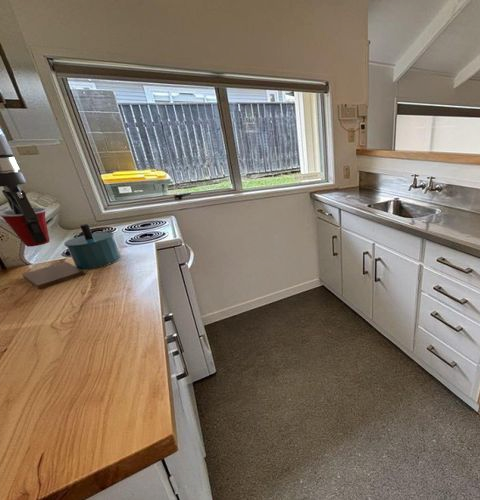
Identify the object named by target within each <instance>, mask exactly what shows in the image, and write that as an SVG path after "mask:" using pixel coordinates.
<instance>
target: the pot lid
mask: <svg viewBox="0 0 480 500" xmlns="http://www.w3.org/2000/svg"><path fill="white" fill-rule="evenodd" d="M79 227H80V229H81V231H82V234H83V235H80V236H76V237H73V238H70V239H68V240H66V241H65V242H64V243H63V244H64V246H65V247H66V248H67V247H78V246H85V245H91V244H95V243H99V242H102V241H105V240H108V239H110V238H112V237H113V238H114V237H115V235H114V233H113V232H107V231H106V232H94V233H93V232H92V230H91V227H90V225H89V223H83V224H80V225H79Z"/></svg>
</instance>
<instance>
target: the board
mask: <svg viewBox="0 0 480 500" xmlns="http://www.w3.org/2000/svg"><path fill="white" fill-rule="evenodd" d="M21 275H22V277H23V278H24V279H25V280H26V281H27V282H29V283H30V284H32V285H33V286H35V288H37V289H38V290H42V289H46V288H49V287H52V286H54V285H58V284H60V283H64V282H67V281H69V280H73V279H76V278H79V277H82V276H85V275H86V274H85V270H81V269H79V268H77V267H76V265H73V264H71V263H69V262H67V261H63V262H60V263H56V264H53V265H48V266H46V267H42V268H39V269H34V270H32V271H28V272H25V273H21Z"/></svg>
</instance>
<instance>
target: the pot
mask: <svg viewBox="0 0 480 500" xmlns="http://www.w3.org/2000/svg"><path fill="white" fill-rule="evenodd" d="M66 248H67V250H68V252H69V254H70V256H71V258H72V259H71V260H72V261H73V263H74V266H75V267H77V268H79V269H81V270H83V271H85V270H93V268H94V269H97V268H96V267H99V268H101V267H100V266H103V267H105V266H104V265H106V266H108V265H107V264H109V263H112V262H114V261H116V260H118V259H119V258H120V257H121V254H120V251H119V248H118V245H117V243H116V240H115V237H114V236H113V237H112V238H110V239H108V240H105V241H102V242H99V243H95V244H91V245H85V246H78V247H67V246H66ZM120 259H121V258H120ZM120 259H119V260H120ZM119 260H118V261H119ZM116 262H117V261H116ZM114 263H115V262H114ZM112 264H113V263H112ZM109 265H110V264H109Z"/></svg>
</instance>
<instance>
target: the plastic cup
mask: <svg viewBox="0 0 480 500" xmlns="http://www.w3.org/2000/svg"><path fill="white" fill-rule="evenodd" d="M32 208H33V210H34V212H35V214H36V216H37V218H38V219H39V222H38V223H39V225H40V227H41V229H42V231H43V234H44V236H45V238H46V240H47V241H45V242H41V243H37V244H36V243H35V242H34V240H33V238H32V236H31V234H30V232H29V230H28V228H27V226H26V225H24V223H26V221H25V220H24V218H23V214H19V215H16V214H15V212H14V210H11V209H8V210H4V211H0V217H1V218H2V219H3V220H4V222H5V223H6V224H8V226H9V228H11V230H12V231H13V232H14V233H15V235H16V236H17V238H19V239H20V241H22V243H23V244H24V245H25V246H26V247H28V248H29V247H38V246H42V245H45V244H48V243H50V242H51V241H50V240H51V239H50V235H49V230H48V225H47V219H46V211H47V208H46V207H39V206H38V207H32Z"/></svg>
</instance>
